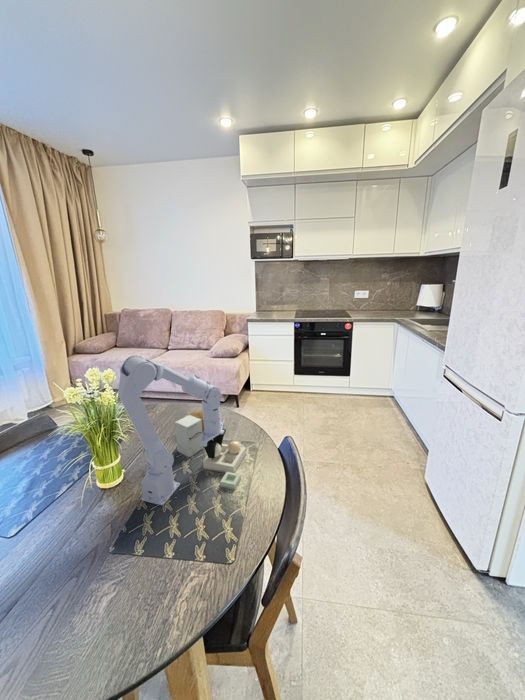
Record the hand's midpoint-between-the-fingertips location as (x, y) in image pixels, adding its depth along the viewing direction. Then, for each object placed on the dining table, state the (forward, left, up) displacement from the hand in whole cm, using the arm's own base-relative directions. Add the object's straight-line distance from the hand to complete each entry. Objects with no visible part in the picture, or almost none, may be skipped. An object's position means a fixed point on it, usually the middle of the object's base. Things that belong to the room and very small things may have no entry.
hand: (214, 453), depth 105 cm
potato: (+21, +16, -5) cm, 27 cm away
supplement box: (+6, +13, -5) cm, 15 cm away
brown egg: (+5, -5, 0) cm, 7 cm away
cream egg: (0, 0, +2) cm, 2 cm away
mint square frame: (-7, -9, -5) cm, 13 cm away
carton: (+3, -3, -5) cm, 6 cm away
